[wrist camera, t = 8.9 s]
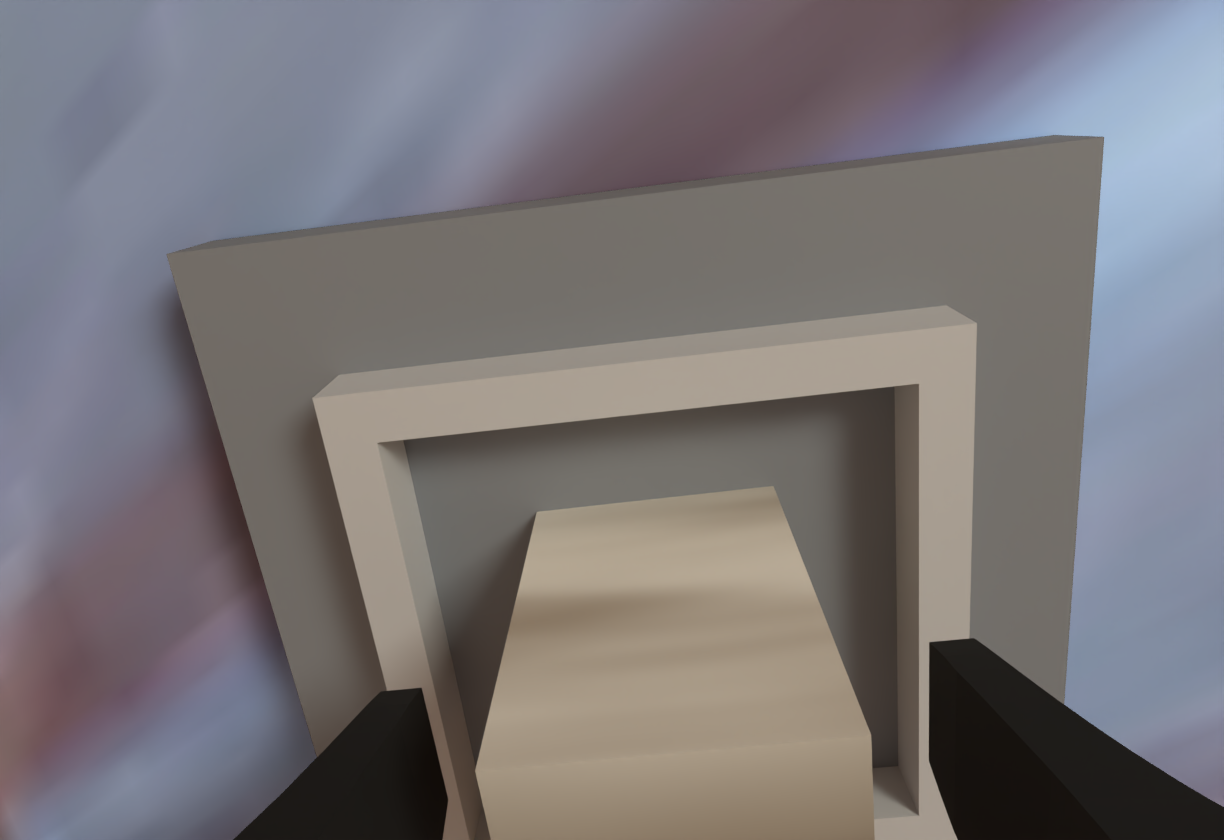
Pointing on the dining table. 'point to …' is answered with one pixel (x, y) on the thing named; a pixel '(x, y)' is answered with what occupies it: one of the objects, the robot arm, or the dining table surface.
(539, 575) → the block
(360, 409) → the base
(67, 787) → the dining table surface
